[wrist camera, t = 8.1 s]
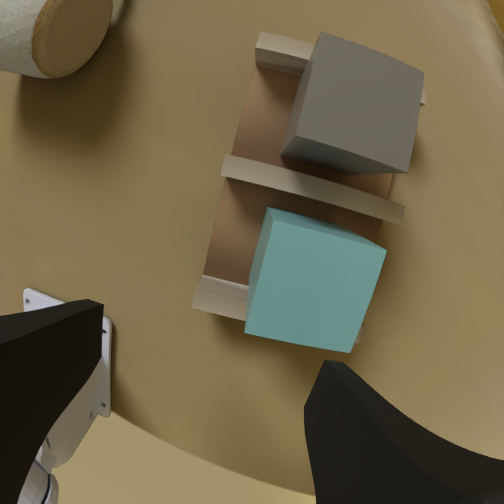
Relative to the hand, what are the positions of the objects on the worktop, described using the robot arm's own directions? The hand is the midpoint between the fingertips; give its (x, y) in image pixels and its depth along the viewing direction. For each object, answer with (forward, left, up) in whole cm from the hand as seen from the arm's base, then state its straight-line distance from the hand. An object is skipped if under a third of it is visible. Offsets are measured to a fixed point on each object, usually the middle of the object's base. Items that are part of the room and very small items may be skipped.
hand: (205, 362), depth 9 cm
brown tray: (+6, -3, -9) cm, 12 cm away
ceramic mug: (+15, +16, -10) cm, 24 cm away
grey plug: (+9, -3, -9) cm, 13 cm away
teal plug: (+3, -3, -9) cm, 9 cm away
